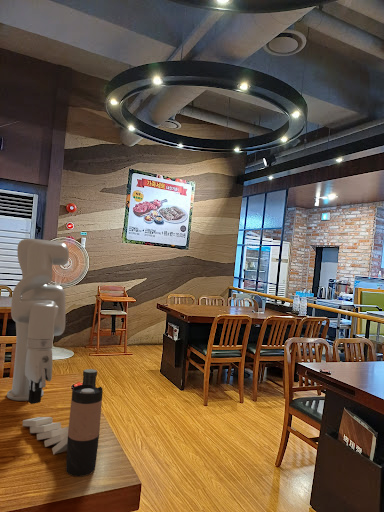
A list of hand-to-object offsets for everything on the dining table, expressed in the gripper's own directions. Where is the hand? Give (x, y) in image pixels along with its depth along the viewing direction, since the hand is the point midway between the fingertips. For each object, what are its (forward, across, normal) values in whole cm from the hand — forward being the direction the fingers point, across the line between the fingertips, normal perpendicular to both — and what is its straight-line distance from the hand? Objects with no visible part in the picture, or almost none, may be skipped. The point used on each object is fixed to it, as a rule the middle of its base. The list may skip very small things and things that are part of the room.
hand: (34, 402), depth 118 cm
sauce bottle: (+7, -16, -8) cm, 20 cm away
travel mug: (+7, -30, 0) cm, 31 cm away
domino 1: (+6, +2, 0) cm, 7 cm away
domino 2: (+6, -4, 0) cm, 8 cm away
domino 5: (+6, -20, 0) cm, 21 cm away
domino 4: (+6, -15, 0) cm, 16 cm away
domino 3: (+6, -10, 0) cm, 12 cm away
